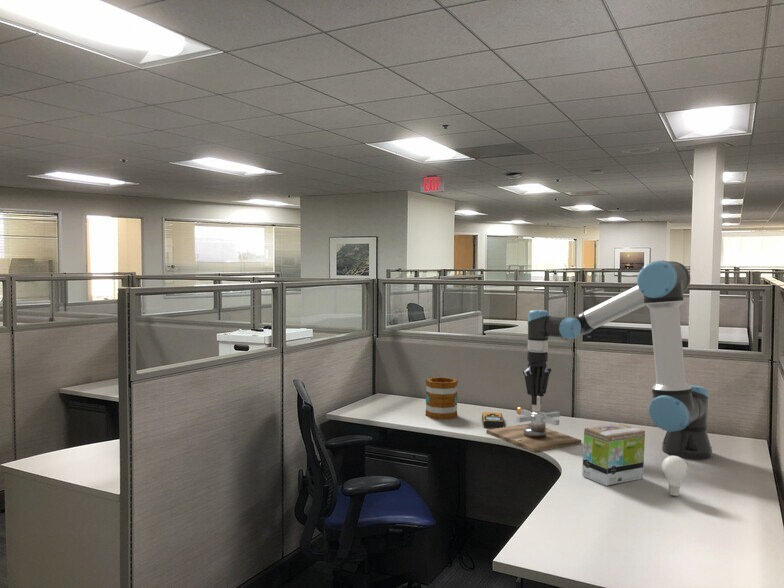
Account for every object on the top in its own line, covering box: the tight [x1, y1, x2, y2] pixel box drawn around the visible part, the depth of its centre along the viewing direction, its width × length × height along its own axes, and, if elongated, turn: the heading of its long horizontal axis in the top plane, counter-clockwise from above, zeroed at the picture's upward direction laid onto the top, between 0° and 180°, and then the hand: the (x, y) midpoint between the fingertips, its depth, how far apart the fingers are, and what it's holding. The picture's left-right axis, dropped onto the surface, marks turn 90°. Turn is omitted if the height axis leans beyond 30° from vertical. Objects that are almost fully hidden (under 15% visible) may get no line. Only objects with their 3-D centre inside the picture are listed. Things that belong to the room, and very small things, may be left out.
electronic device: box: [481, 411, 505, 429], centre depth 240 cm, size 8×16×3 cm, turn 173°
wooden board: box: [486, 422, 582, 453], centre depth 219 cm, size 26×22×2 cm
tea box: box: [581, 422, 646, 487], centre depth 177 cm, size 15×10×15 cm, turn 117°
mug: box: [425, 376, 459, 421], centre depth 254 cm, size 20×14×15 cm
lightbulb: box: [661, 455, 689, 497], centre depth 163 cm, size 6×6×11 cm
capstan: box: [516, 406, 561, 438], centre depth 217 cm, size 21×19×8 cm
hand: (536, 412), depth 227 cm, fingers closed
